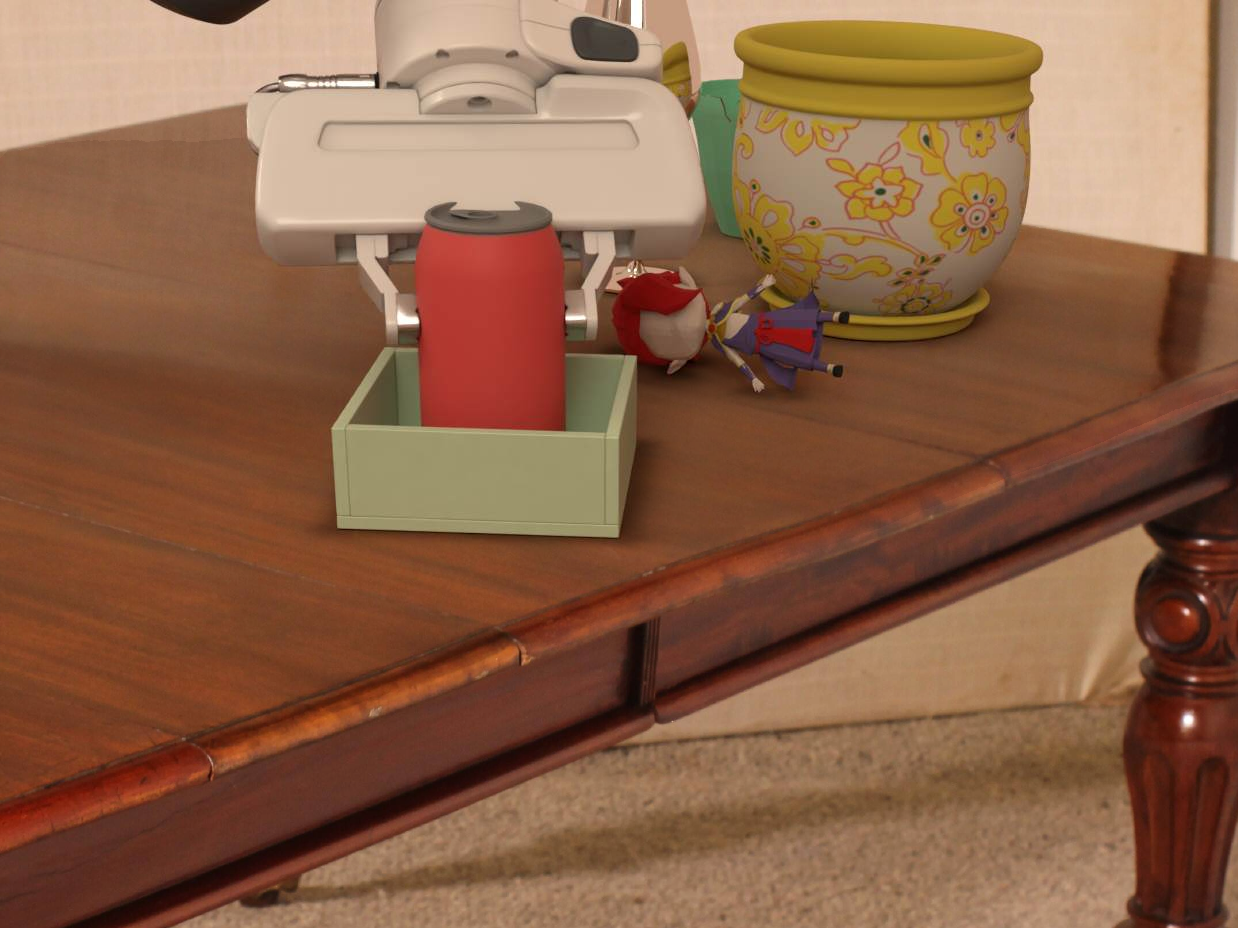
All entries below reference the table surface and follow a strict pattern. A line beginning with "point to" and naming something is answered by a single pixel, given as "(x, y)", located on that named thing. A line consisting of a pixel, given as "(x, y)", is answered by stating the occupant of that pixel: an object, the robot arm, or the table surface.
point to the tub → (486, 458)
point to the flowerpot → (882, 168)
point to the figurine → (719, 327)
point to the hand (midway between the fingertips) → (493, 336)
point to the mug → (718, 146)
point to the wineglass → (665, 13)
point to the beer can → (491, 319)
